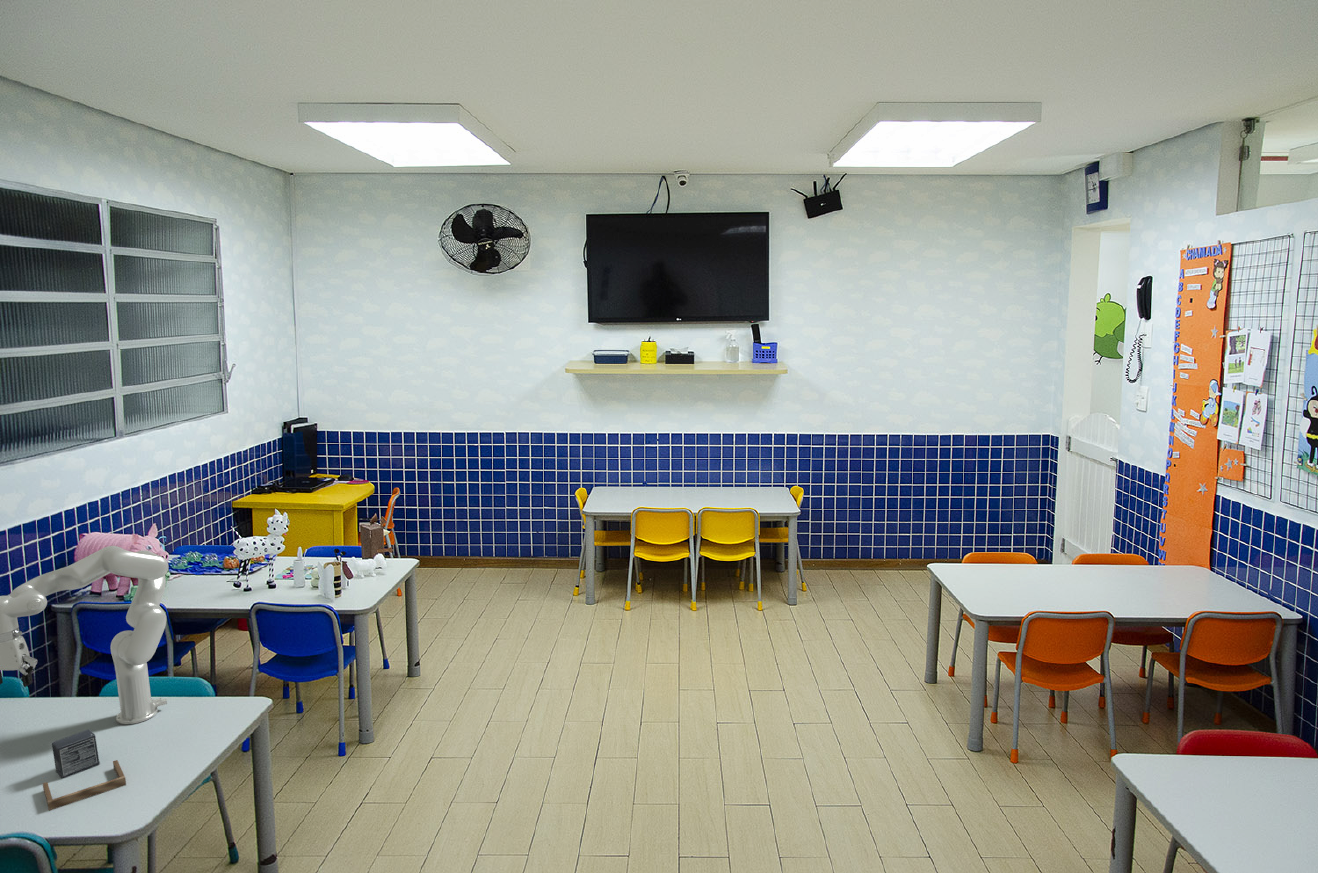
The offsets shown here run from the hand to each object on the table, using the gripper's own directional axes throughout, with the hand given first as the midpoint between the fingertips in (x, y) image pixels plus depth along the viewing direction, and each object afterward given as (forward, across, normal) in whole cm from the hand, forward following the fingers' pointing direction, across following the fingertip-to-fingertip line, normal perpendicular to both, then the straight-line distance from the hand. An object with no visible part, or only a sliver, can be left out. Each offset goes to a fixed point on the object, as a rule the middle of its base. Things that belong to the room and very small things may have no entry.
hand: (13, 685), depth 270 cm
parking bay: (+25, -31, +17) cm, 44 cm away
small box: (+26, -22, +7) cm, 34 cm away
